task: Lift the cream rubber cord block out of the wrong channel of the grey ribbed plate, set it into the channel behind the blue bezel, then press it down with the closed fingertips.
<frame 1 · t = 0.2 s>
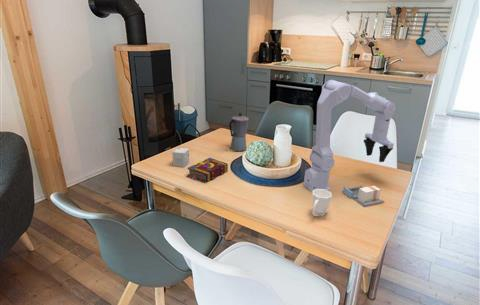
hand: (375, 158, 139), 10 cm above the table, fingers open, 7 cm apart
skincare box: (181, 164, 155), on the table
moka pot: (238, 149, 175), on the table
cup: (318, 214, 116), on the table
cord block: (367, 200, 124), resting on grey ribbed plate
decorative book: (207, 175, 145), on the table
eye dropper bottle: (321, 160, 163), on the table
grey ribbed plate: (362, 197, 127), on the table
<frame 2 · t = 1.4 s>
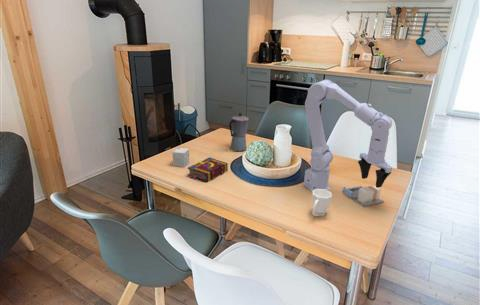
hand: (371, 182, 121), 8 cm above the table, fingers open, 7 cm apart
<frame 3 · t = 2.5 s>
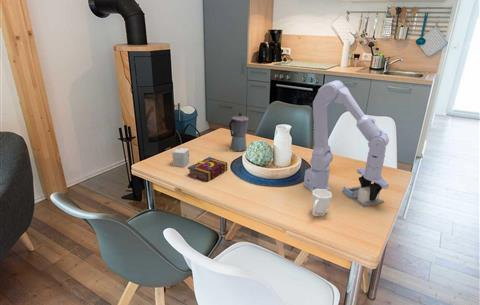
hand: (368, 197, 124), 2 cm above the table, fingers closed on cord block, 4 cm apart
cord block: (367, 200, 124), resting on grey ribbed plate, touching gripper
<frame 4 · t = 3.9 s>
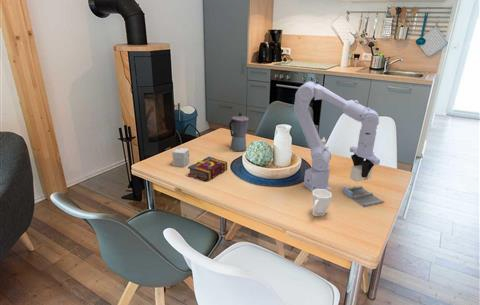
hand: (360, 174, 127), 9 cm above the table, fingers closed on cord block, 4 cm apart
cord block: (360, 178, 127), point 7 cm above the table, touching gripper
when the fingers open (3 cm above the table, at t = 5.3 s): cord block stays where it is, resting on grey ribbed plate.
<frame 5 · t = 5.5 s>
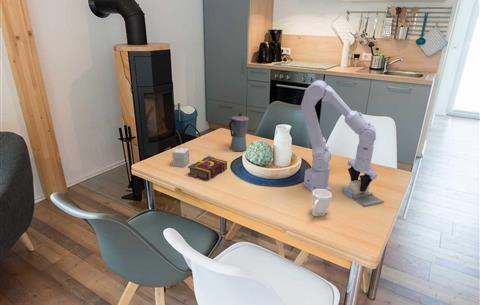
hand: (358, 187, 129), 3 cm above the table, fingers open, 5 cm apart
cord block: (357, 193, 130), resting on grey ribbed plate
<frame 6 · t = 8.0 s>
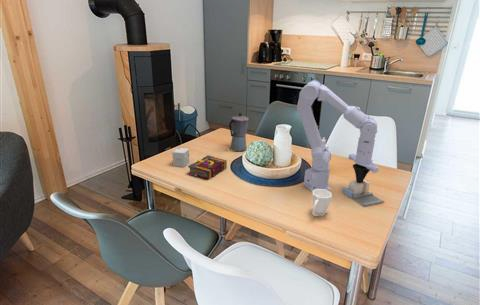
hand: (359, 181, 128), 6 cm above the table, fingers closed
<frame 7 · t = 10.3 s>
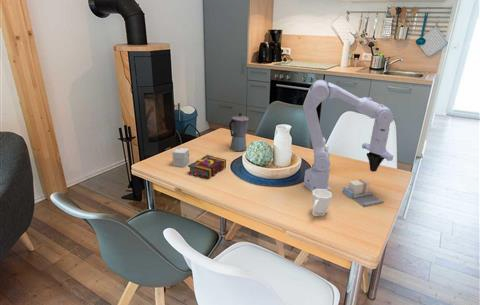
hand: (373, 170, 128), 10 cm above the table, fingers closed
at the end: cord block 0.1 cm from the target spot on the grey ribbed plate, point 0.5 cm above the grey ribbed plate's base; cord block tilted 0°; the gripper is holding nothing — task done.
